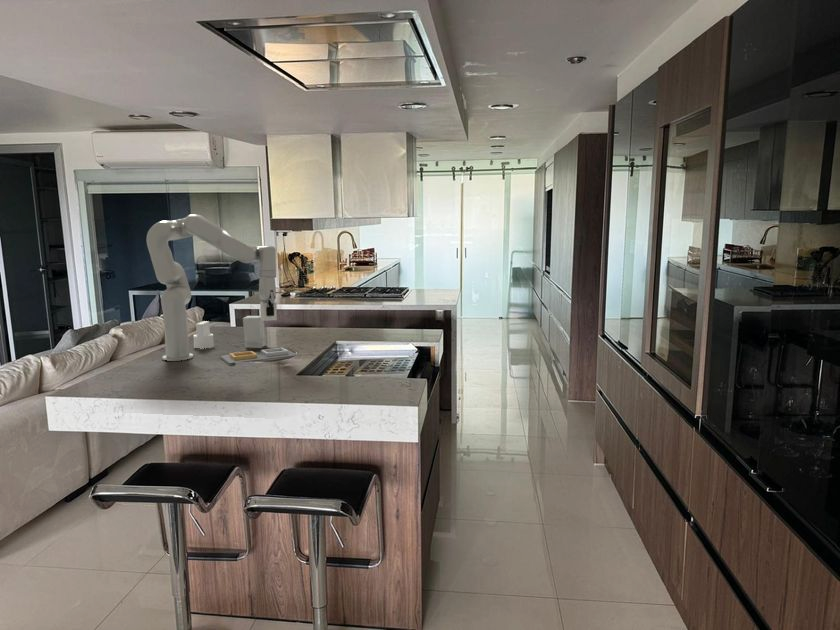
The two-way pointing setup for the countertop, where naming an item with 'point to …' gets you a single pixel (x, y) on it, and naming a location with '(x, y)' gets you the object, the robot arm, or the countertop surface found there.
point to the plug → (264, 313)
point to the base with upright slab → (203, 336)
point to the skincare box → (254, 332)
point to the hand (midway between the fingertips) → (268, 314)
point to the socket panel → (256, 355)
